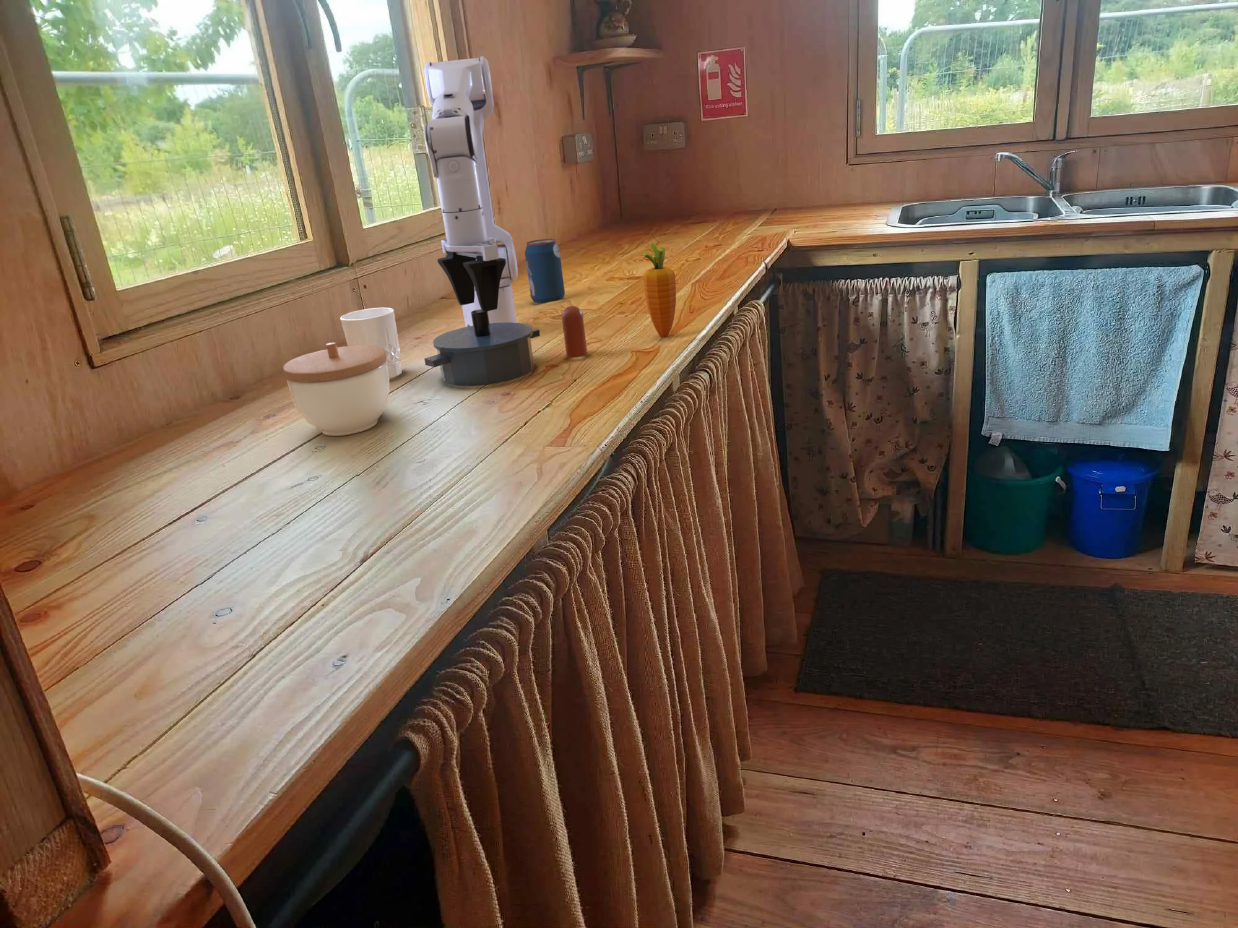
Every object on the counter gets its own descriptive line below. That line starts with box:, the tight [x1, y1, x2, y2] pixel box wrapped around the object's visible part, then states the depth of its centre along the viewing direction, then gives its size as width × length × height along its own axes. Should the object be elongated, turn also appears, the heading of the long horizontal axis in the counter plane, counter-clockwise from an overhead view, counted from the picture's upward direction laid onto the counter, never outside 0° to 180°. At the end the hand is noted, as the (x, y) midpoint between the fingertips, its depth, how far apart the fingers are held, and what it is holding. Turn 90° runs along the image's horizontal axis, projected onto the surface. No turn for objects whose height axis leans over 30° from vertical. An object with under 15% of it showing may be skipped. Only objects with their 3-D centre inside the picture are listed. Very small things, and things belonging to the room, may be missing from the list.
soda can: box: [524, 238, 566, 306], centre depth 174 cm, size 7×7×12 cm
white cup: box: [339, 307, 403, 379], centre depth 132 cm, size 8×8×10 cm
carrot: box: [643, 242, 677, 339], centre depth 136 cm, size 5×5×15 cm
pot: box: [424, 328, 541, 387], centre depth 129 cm, size 13×19×6 cm
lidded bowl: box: [282, 341, 390, 437], centre depth 111 cm, size 13×13×11 cm
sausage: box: [561, 305, 588, 358], centre depth 132 cm, size 3×3×8 cm
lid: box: [432, 309, 533, 352], centre depth 127 cm, size 14×14×5 cm
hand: (478, 307), depth 126 cm, fingers open, 7 cm apart
